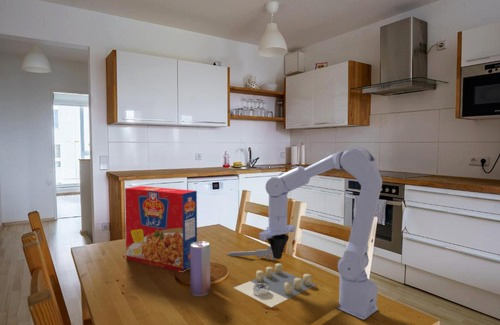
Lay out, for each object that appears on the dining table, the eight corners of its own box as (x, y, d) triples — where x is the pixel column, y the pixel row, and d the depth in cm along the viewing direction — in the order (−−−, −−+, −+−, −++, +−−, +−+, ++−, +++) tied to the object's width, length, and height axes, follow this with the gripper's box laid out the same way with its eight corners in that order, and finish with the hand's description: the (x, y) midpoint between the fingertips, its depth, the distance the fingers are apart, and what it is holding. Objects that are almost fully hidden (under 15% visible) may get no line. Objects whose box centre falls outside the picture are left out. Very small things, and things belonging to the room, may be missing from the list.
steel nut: (272, 293, 95) (272, 286, 95) (262, 298, 92) (262, 291, 92) (260, 287, 99) (260, 281, 99) (250, 292, 96) (250, 285, 96)
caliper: (274, 262, 123) (274, 246, 123) (273, 263, 122) (273, 247, 122) (227, 255, 132) (227, 239, 131) (226, 255, 131) (226, 240, 130)
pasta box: (126, 259, 125) (125, 188, 124) (141, 253, 133) (140, 185, 131) (183, 272, 113) (182, 193, 111) (197, 265, 120) (196, 190, 118)
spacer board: (316, 287, 101) (317, 275, 101) (271, 310, 87) (271, 296, 87) (279, 272, 113) (279, 261, 113) (233, 290, 99) (233, 278, 99)
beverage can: (191, 298, 94) (191, 247, 93) (189, 289, 100) (189, 241, 99) (211, 295, 96) (211, 246, 95) (208, 287, 102) (208, 240, 101)
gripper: (283, 210, 108) (282, 249, 109) (252, 216, 98) (251, 260, 99) (300, 213, 103) (299, 255, 104) (269, 220, 93) (268, 266, 94)
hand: (277, 258), depth 101 cm, fingers closed
